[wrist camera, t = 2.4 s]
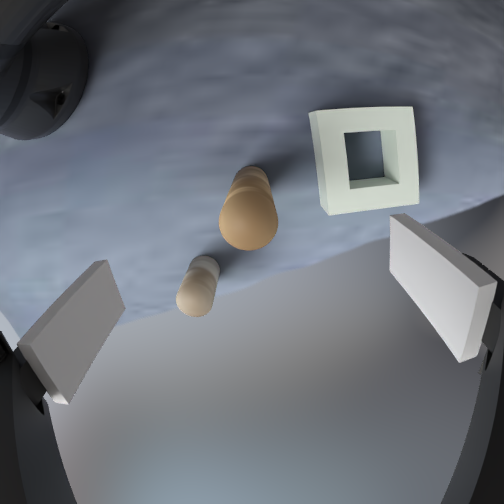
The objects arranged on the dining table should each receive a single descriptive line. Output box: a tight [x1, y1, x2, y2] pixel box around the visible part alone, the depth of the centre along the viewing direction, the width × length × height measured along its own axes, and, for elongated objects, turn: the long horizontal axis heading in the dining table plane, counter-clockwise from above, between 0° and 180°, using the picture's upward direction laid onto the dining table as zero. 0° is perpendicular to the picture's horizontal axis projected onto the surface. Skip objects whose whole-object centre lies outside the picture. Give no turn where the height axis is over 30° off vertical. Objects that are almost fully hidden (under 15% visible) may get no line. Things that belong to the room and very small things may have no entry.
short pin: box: [176, 256, 220, 317], centre depth 32 cm, size 4×4×7 cm
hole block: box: [309, 107, 419, 215], centre depth 28 cm, size 10×10×4 cm
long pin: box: [219, 166, 278, 250], centre depth 25 cm, size 4×4×14 cm
